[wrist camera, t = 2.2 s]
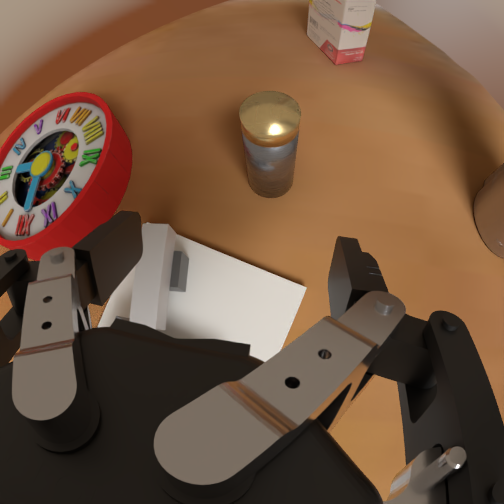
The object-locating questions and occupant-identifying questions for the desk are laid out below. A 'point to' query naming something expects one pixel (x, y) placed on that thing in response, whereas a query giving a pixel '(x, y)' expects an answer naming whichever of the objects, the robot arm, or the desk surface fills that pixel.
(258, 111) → the gold lidded jar
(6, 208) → the toy clock
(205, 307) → the shaft rig
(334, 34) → the ink cartridge box
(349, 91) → the desk surface
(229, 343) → the robot arm
